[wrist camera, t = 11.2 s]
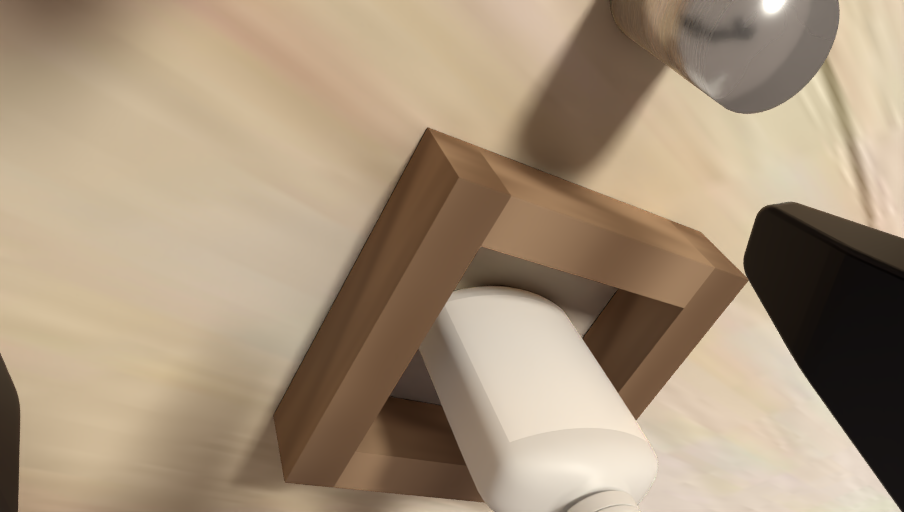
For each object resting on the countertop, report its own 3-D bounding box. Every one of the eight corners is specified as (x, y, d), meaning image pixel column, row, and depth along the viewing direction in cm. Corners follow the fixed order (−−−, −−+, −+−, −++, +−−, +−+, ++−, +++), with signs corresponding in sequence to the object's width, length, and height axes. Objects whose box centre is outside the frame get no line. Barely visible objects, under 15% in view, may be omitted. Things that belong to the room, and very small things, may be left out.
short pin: (601, 48, 23) (692, 121, 19) (619, -80, 21) (726, -28, 17) (706, 38, 24) (813, 105, 20) (734, -86, 22) (859, -38, 18)
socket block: (273, 415, 27) (284, 482, 25) (427, 127, 23) (459, 177, 20) (535, 453, 33) (563, 510, 31) (700, 232, 29) (749, 279, 26)
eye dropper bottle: (487, 242, 26) (673, 549, 17) (575, 317, 29) (769, 606, 20) (395, 325, 27) (523, 660, 18) (490, 388, 30) (639, 697, 21)
